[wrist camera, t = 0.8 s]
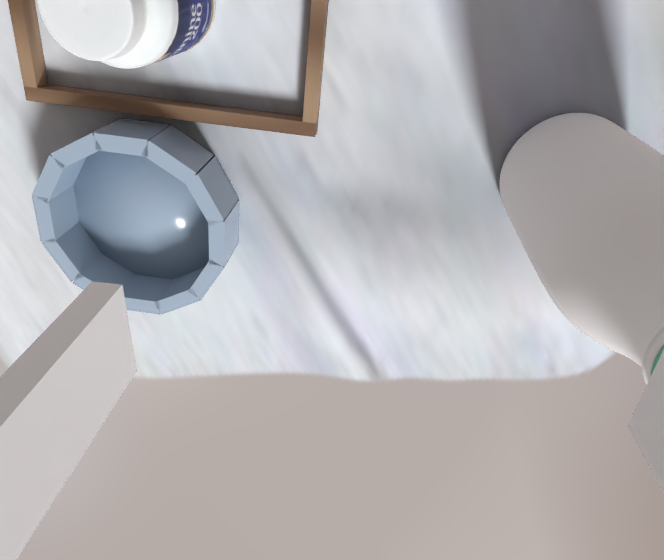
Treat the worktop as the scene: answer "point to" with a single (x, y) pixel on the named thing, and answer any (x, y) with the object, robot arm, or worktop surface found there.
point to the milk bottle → (593, 228)
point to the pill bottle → (127, 28)
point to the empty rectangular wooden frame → (43, 92)
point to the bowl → (138, 213)
